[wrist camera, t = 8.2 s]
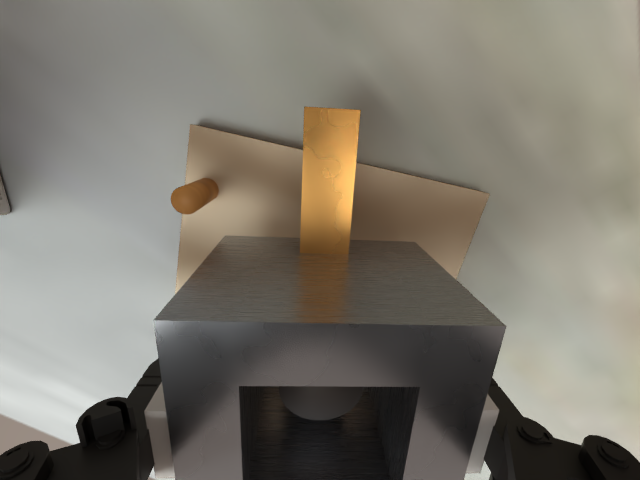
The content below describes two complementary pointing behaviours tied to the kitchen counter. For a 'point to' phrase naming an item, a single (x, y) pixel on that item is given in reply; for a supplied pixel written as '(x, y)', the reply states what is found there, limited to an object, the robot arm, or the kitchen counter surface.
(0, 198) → the coffee box
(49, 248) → the kitchen counter surface
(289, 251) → the square sleeve with handle
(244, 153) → the post board
